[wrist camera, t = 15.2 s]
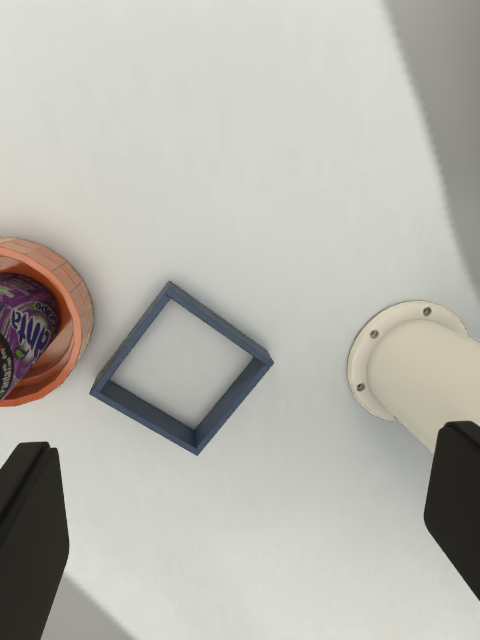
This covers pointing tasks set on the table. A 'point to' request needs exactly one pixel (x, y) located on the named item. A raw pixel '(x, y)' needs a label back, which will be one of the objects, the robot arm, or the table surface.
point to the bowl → (73, 316)
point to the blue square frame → (156, 417)
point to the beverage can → (23, 326)
